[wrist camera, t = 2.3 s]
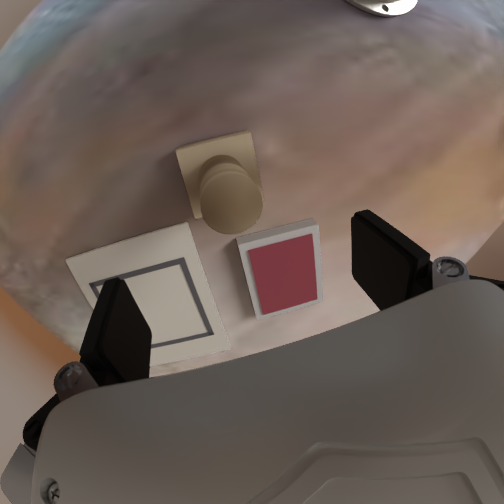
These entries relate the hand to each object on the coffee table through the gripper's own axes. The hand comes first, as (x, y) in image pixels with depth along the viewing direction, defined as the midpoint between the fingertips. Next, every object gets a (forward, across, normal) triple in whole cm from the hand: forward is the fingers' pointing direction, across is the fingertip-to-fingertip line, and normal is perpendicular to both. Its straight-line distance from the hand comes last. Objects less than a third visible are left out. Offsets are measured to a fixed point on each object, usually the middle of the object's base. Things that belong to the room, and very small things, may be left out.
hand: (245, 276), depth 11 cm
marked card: (+16, +10, +12) cm, 23 cm away
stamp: (+16, -1, -1) cm, 16 cm away
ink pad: (+16, -5, +11) cm, 20 cm away
